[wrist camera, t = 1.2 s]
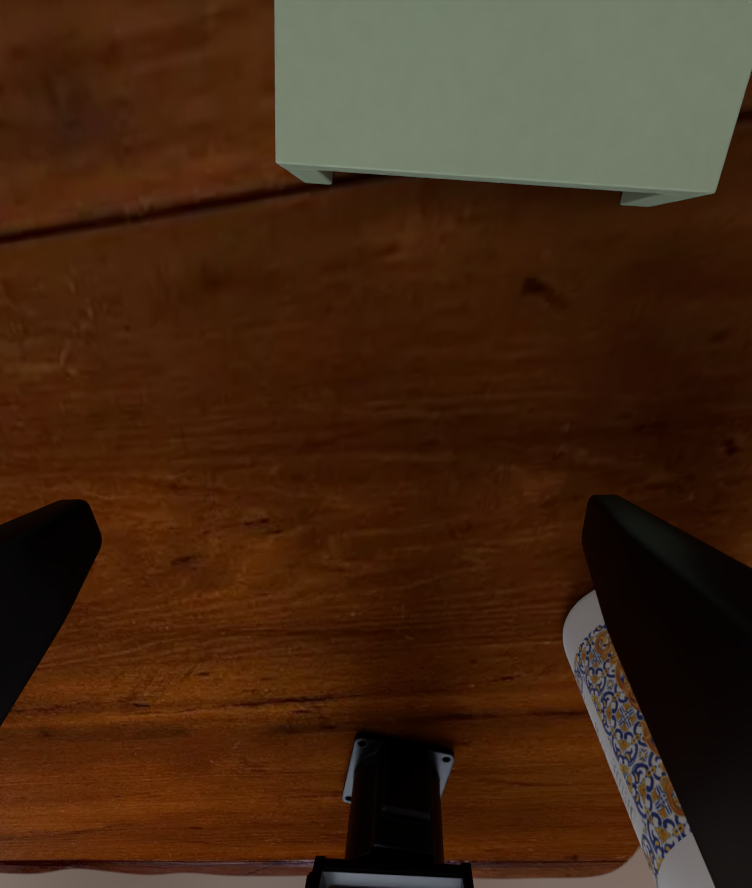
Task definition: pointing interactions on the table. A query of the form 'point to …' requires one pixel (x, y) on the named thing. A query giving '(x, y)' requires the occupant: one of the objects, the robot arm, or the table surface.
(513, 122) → the green chair-shaped stand
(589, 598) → the bath foam
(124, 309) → the table surface
